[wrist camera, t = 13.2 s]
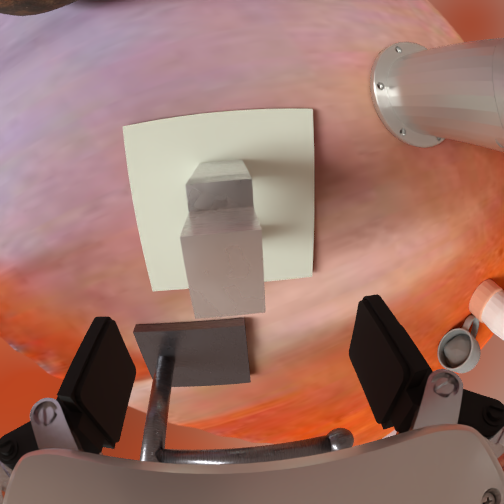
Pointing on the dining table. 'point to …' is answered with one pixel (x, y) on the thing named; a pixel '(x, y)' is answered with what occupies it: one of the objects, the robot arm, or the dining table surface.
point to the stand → (206, 374)
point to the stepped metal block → (223, 242)
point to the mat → (223, 149)
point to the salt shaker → (489, 306)
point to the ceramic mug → (460, 347)
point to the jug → (31, 6)
